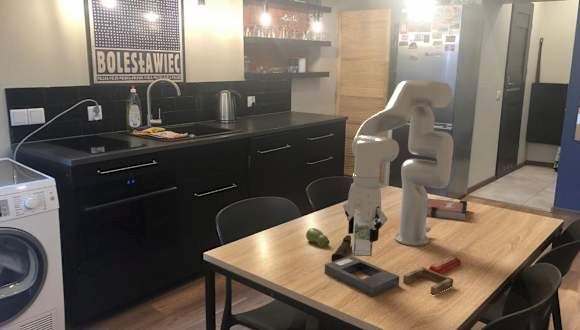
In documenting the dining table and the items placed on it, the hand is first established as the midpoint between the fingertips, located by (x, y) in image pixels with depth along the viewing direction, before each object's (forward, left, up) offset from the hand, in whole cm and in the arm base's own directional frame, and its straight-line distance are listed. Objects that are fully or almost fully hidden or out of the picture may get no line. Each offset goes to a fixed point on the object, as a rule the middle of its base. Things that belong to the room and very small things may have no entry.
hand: (362, 236), depth 144 cm
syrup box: (0, 0, -5) cm, 5 cm away
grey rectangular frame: (0, 0, -14) cm, 14 cm away
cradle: (-13, +15, -14) cm, 24 cm away
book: (-80, -26, -15) cm, 86 cm away
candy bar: (-29, +11, -14) cm, 34 cm away
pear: (-10, -30, -14) cm, 35 cm away
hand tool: (-10, -18, -14) cm, 25 cm away
